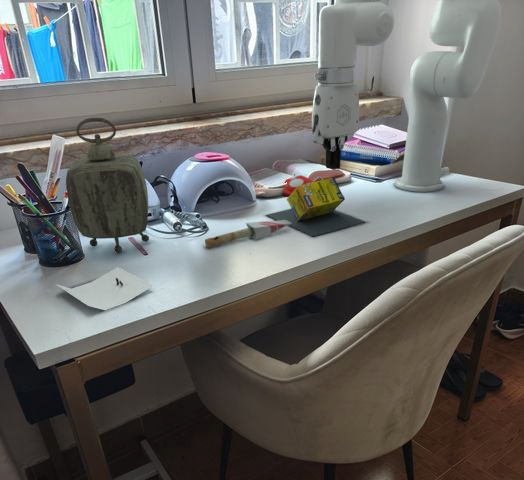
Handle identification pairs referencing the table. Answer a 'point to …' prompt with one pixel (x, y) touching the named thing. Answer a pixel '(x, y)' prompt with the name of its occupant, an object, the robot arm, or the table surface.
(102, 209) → the tabletop clock
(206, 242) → the paintbrush
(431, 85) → the robot arm
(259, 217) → the table surface
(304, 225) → the mat
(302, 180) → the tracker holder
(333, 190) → the supplement box
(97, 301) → the folded paper
